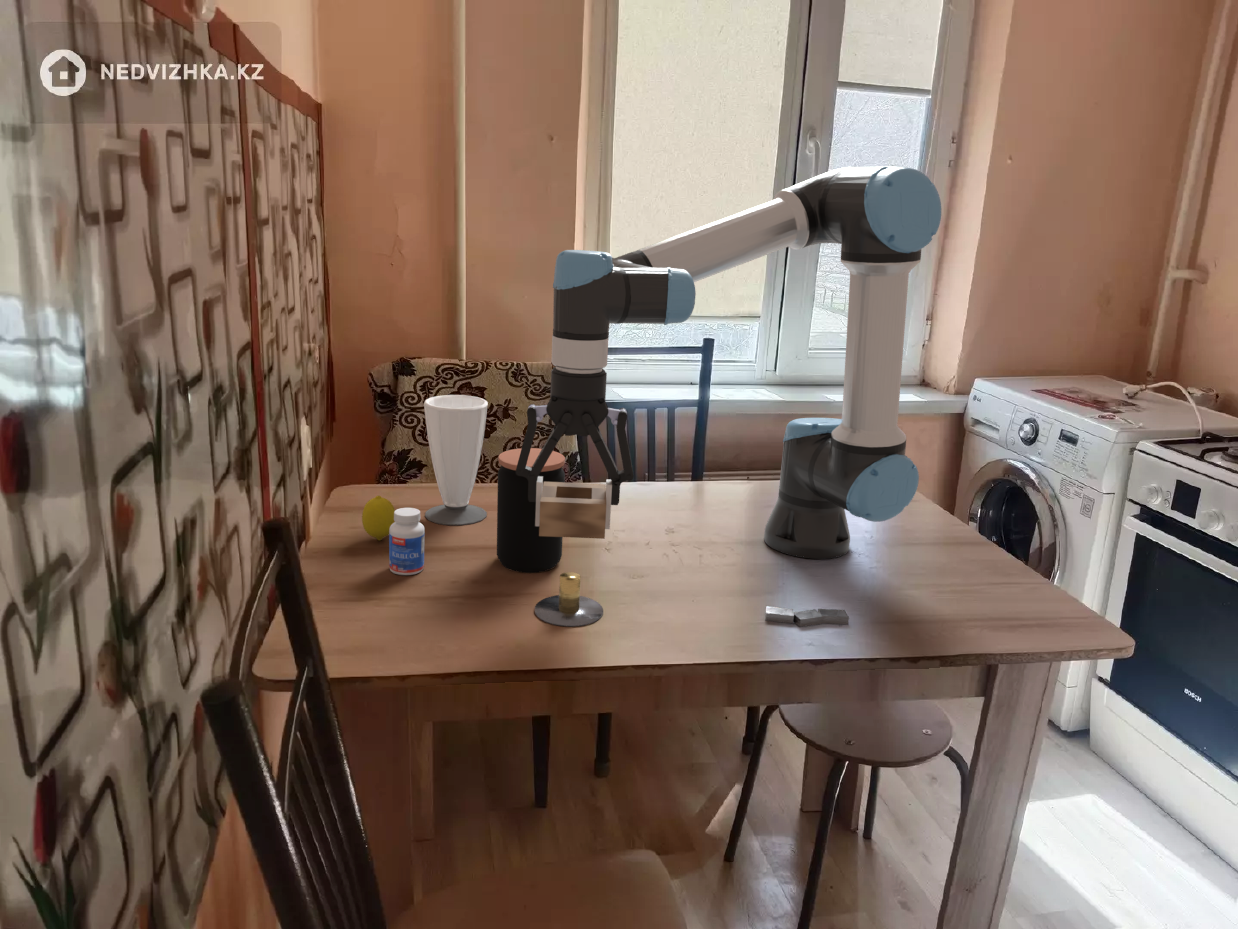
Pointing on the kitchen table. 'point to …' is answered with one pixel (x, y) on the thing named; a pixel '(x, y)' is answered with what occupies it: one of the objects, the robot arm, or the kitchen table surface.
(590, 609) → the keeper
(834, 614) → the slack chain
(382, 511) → the lemon
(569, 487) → the square wooden ring block
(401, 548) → the pill bottle
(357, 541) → the kitchen table surface
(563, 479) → the coffee jar
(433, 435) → the cup
